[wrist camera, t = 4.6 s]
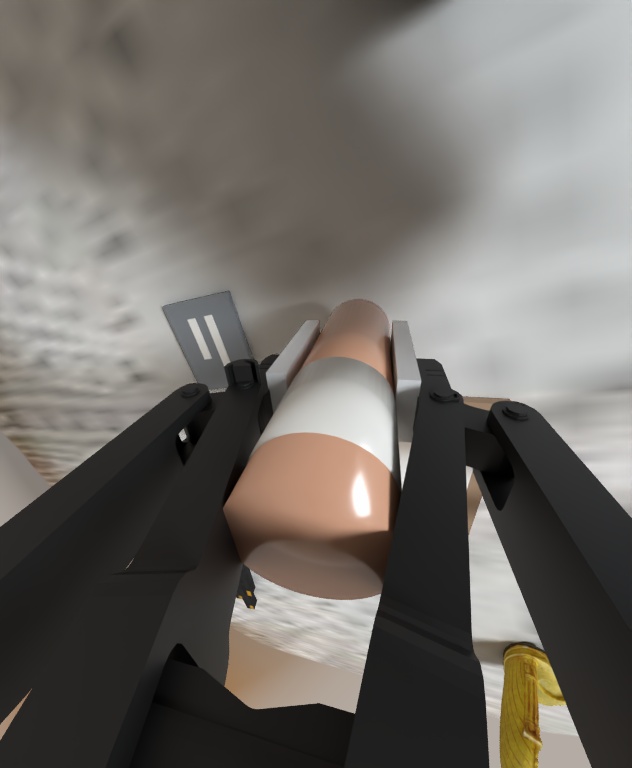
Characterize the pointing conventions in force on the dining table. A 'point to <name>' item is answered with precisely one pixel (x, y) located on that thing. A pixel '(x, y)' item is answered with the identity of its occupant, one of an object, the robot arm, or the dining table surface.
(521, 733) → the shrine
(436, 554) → the robot arm
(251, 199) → the dining table surface
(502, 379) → the dining table surface
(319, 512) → the pastel stick
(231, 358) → the grey striped tile
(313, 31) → the dining table surface
